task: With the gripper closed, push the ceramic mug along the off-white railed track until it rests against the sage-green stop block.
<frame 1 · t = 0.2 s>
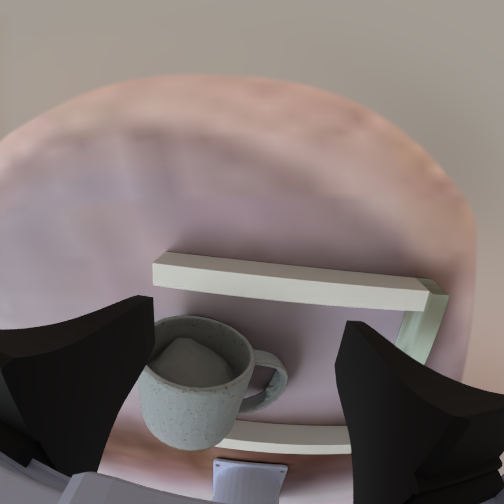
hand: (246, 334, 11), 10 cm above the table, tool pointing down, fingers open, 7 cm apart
track rails: (292, 368, 23), on the table
stop block: (392, 371, 22), on the table
ceramic mug: (219, 357, 23), on the table
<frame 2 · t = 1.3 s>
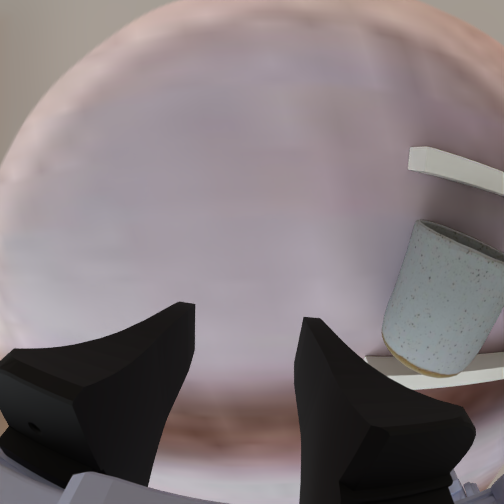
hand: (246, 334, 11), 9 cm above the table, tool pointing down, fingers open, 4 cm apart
track rails: (489, 282, 19), on the table
ceramic mug: (438, 276, 20), on the table
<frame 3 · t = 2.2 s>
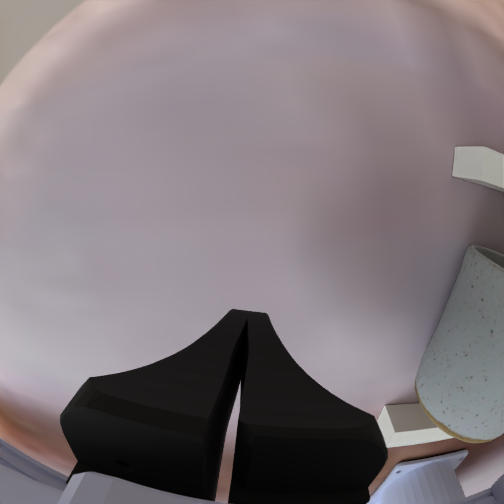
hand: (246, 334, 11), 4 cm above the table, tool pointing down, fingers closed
ceramic mug: (479, 310, 14), on the table
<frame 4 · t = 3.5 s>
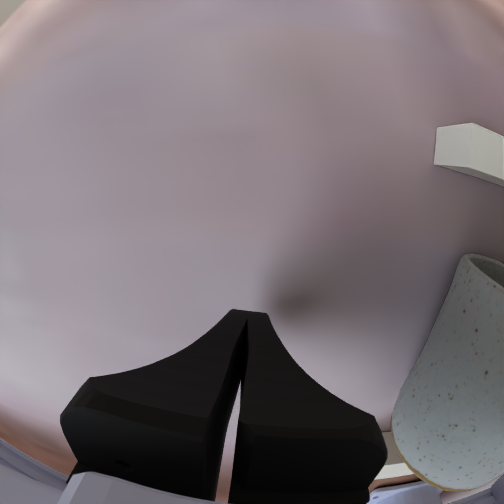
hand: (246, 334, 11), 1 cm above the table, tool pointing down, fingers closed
ceramic mug: (475, 329, 12), on the table
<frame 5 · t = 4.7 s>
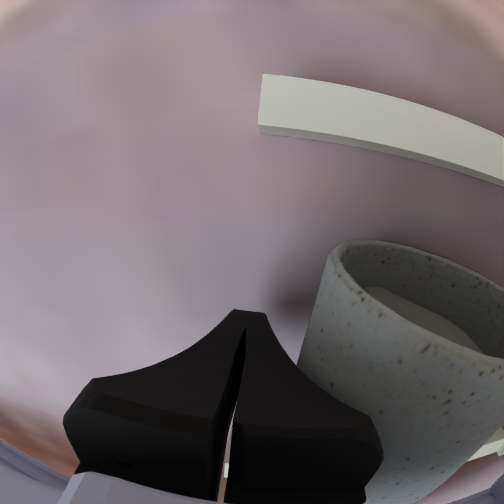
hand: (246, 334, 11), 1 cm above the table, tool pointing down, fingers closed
track rails: (453, 330, 12), on the table
ceramic mug: (399, 328, 12), on the table, touching gripper
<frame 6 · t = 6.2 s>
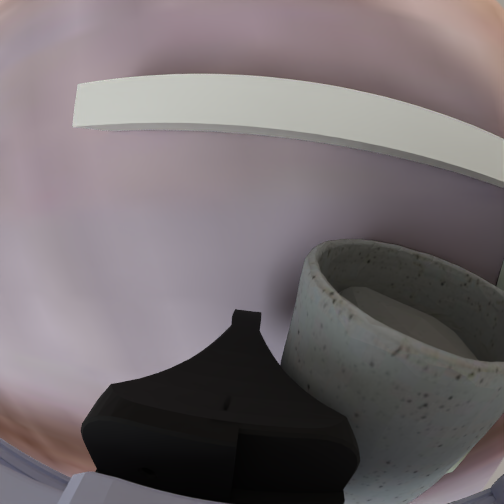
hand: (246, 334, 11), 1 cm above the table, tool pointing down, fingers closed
track rails: (338, 325, 12), on the table
ceramic mug: (390, 327, 12), on the table, touching gripper, stop block
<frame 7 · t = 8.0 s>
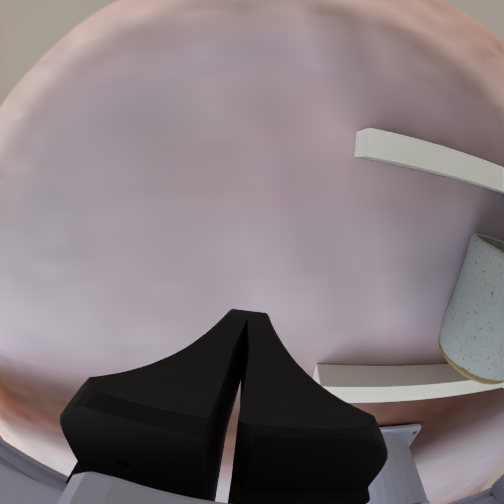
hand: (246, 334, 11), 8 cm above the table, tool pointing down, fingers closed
track rails: (463, 284, 18), on the table
ceramic mug: (483, 284, 18), on the table
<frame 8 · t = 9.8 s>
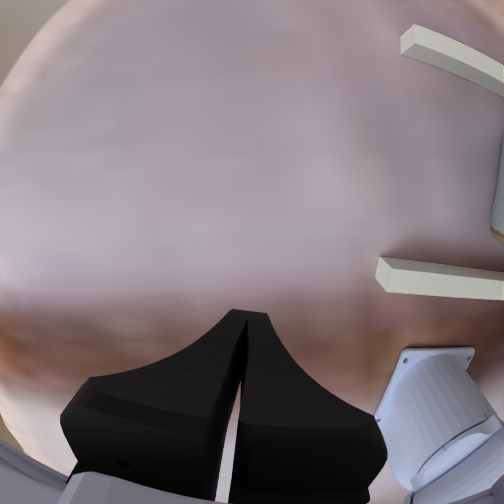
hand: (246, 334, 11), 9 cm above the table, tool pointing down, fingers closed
track rails: (502, 183, 17), on the table
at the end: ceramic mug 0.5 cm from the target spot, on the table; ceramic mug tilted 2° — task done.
